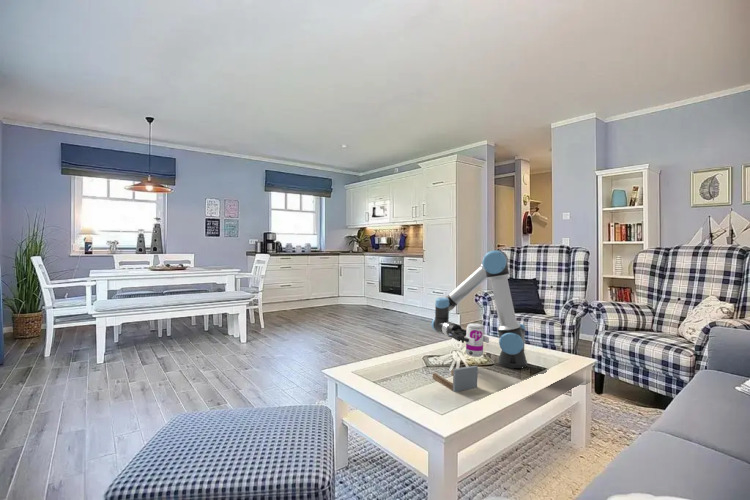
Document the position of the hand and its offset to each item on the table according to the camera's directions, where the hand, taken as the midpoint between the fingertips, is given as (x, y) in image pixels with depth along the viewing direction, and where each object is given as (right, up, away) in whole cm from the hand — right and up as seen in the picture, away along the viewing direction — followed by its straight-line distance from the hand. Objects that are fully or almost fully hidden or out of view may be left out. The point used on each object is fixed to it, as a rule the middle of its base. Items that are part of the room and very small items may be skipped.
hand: (481, 341), depth 185 cm
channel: (-14, -20, -1) cm, 24 cm away
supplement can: (-2, -8, +5) cm, 9 cm away
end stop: (-10, -20, -8) cm, 24 cm away
